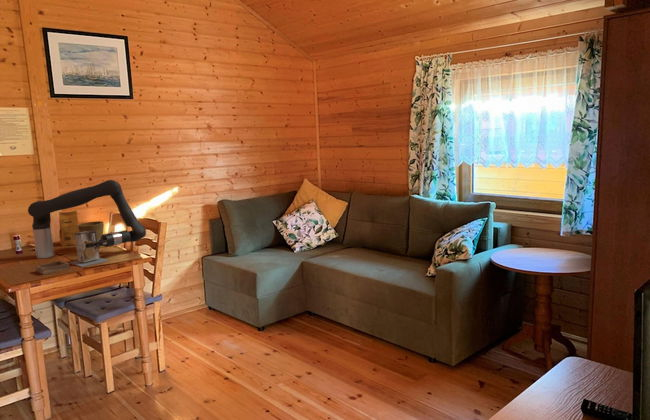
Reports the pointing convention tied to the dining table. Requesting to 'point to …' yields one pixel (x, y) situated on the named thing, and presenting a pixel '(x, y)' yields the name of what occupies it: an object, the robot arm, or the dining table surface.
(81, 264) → the rubber mat
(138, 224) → the robot arm
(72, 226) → the coffee package
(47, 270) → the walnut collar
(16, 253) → the dining table surface
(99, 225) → the plant pot
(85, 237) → the coffee box
